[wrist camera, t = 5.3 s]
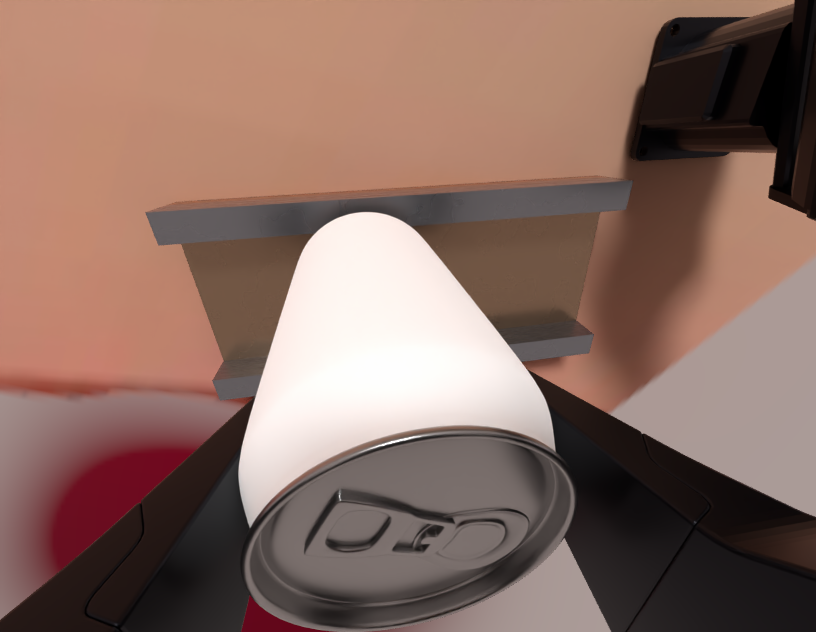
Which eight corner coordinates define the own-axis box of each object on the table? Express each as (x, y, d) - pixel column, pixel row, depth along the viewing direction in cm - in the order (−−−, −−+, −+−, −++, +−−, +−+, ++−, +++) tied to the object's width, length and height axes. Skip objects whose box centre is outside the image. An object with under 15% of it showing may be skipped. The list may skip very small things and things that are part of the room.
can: (396, 351, 18) (473, 639, 8) (277, 311, 16) (162, 648, 5) (458, 246, 16) (679, 459, 6) (328, 181, 14) (298, 340, 3)
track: (596, 175, 20) (633, 180, 18) (564, 331, 25) (589, 353, 23) (176, 202, 18) (145, 212, 15) (235, 370, 23) (220, 400, 20)
